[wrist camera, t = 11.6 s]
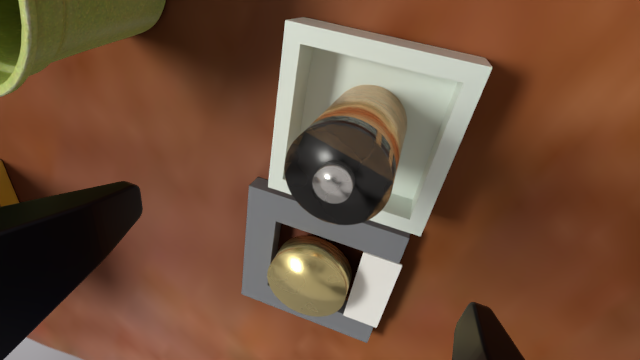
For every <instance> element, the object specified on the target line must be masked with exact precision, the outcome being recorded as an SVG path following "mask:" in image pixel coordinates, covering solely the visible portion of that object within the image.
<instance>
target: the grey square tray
mask: <svg viewBox="0 0 640 360" xmlns="http://www.w3.org/2000/svg"><path fill="white" fill-rule="evenodd" d="M281 223H282V224H285V225H288V226H291V227H294V228H297V229H300V230H303V231H306V232H309V233H311V234H314V235H317V236H320V237H323V238H326V239H329V240H332V241H335V242H338V243H341V244H344V245H347V246H349V247H352V248H355V249H358V250H361V251H364V252H363V255H362V258H361V261H360V264H359V267H358V270H357V273H356V277H355V280H354V283H353V286H352V289H351V292H350V295H349V298H348V301H346V300H345V301H344V304H343V306H342V307H341V308H340V309H339V310H338V311H337V312H335V313H333V314H331V315H328V316H322V317H315V316H308V315H304V314H301V313H299V312H296V311H294V310H292V309H290V308H289V307H287V306H286V305H285V304H283V303H282V302H281V301H280V300H279V299H278V298H277V297H276V296H275V294H274V293H273V292H272V290H271V288H270V286H269V283H268V279H267V272H268V268H269V266H270V264H271V262H272V261H273V259H274V258H275V256H276V255H277V251H278V244H279V237H280V229H281ZM409 238H410V233H408V232H405V231H401V230H398V229H395V228H392V227H389V226H386V225H383V224H380V223H377V222H374V221H371V220H367V221H365V222H362V223H359V224H354V225H337V224H332V223H328V222H325V221H322V220H320V219H318V218H316V217H314V216H312V215H311V214H309V213H308V212H307V211H306V210H304V209H303V208H302V207H301V206H300V205H299V204H298V203H297V201H296V200H295V199H294V197H293V196H292V195H291V194H288V193H284V192H281V191H278V190H275V189H272V188H269V187H268V180H266V179H263V178H259V177H257V178H256V179H255V180H254V181H253V182H252V183H251V184H250V185H249V194H248V209H247V223H246V237H245V251H244V265H243V280H242V294H243V295H245V296H248V297H251V298H253V299H256V300H258V301H261V302H263V303H266V304H269V305H271V306H274V307H276V308H279V309H281V310H284V311H286V312H289V313H292V314H294V315H297V316H299V317H302V318H304V319H307V320H310V321H312V322H315V323H317V324H320V325H322V326H325V327H327V328H330V329H333V330H335V331H338V332H340V333H343V334H345V335H348V336H351V337H353V338H356V339H358V340H361V341H363V342H366V343H367V342H368V339H369V337H370V334H371V332H372V329H373V327H375V328H377V326H378V323H379V321H380V319H381V316H382V314H383V311H384V309H385V307H386V304H387V302H388V299H389V297H390V294H391V292H392V290H393V287H394V285H395V282H396V280H397V278H398V275H399V273H400V270H401V268H402V264H399V263H400V260H401V258H402V255H403V253H404V250H405V248H406V245H407V243H408V241H409Z"/></svg>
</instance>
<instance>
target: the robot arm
mask: <svg viewBox="0 0 640 360" xmlns="http://www.w3.org/2000/svg"><path fill="white" fill-rule="evenodd" d="M142 210H143V208H142V200H141V193H140V188H139V187H138V186H137V185H135V184H132V183H129V182H126V181H121V182H116V183H111V184H107V185H102V186H97V187H92V188H87V189H83V190H78V191H73V192H68V193H64V194H59V195H54V196H49V197H45V198H40V199H35V200H30V201H26V202H21V203H16V204H11V205H6V206H2V207H0V360H3V359H4V358H5V357H6V356H7V355H8V354H9V353H11V352H12V350H13V349H15V348H16V347H17V345H19V344H20V343H21V342H22V341H23V340H24V339H25V338H26V337H27V336H28V335H29V334H30V333H31V332H32V331H33V330H34V329H35V328H36V327H37V326H38V325H39V324H40V323H41V322H42V321H43V320H44V319H45V318H46V317H47V316H48V315H49V314H50V313H51V312H52V311H53V310H54V309H55V308H56V307H57V306H58V305H59V304H60V303H61V302H62V301H63V300H64V299H65V298H66V297H67V296H68V295H69V294H70V293H71V292H72V291H73V290H74V289H75V288H76V287H77V286H78V285H79V284H80V283H81V282H82V281H83V280H84V279H85V278H86V277H87V276H88V275H89V274H90V273H91V272H92V271H93V270H94V269H95V268H96V267H97V266H98V265H99V264H100V263H101V262H102V261H103V260H104V259H105V258H106V257H107V256H108V255H109V253H110V252H111V251H112V250H113V249H114V248H115V246H116V245H117V244H118V243H119V242H120V240H121V239H122V238H123V237H124V236H125V234H126V233H127V232H128V231H129V230H130V228H131V227H132V226H133V225H134V224H135V222H136V221H137V220H138V219H139V218H140V216H141V214H142ZM452 360H525V359H524V357H523V356H522V354H521V353H520V351H519V350H518V348H517V347H516V345H515V344H514V342H513V341H512V339H511V338H510V337H509V335H508V334H507V332H506V331H505V329H504V328H503V326H502V325H501V323H500V322H499V320H498V319H497V317H496V316H495V314H494V313H493V311H492V310H491V309H490V308H489V307H487V306H484V305H481V304H478V303H475V302H471V303H470V304H469V305H468V306H467V308H466V309H465V311H464V313H463V314H462V316H461V317H460V319H459V321H458V322H457V325H456V328H455V333H454V344H453V355H452Z"/></svg>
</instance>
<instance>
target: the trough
mask: <svg viewBox="0 0 640 360" xmlns="http://www.w3.org/2000/svg"><path fill="white" fill-rule="evenodd" d="M492 68H493V67H492V66H491V65H490V63H489V62H488V61H487V59H486V58H484V57H479V56H475V55H471V54H466V53H462V52H457V51H453V50H448V49H444V48H439V47H435V46H431V45H426V44H422V43H417V42H413V41H408V40H404V39H400V38H395V37H391V36H386V35H382V34H377V33H373V32H368V31H364V30H360V29H355V28H351V27H346V26H342V25H337V24H333V23H328V22H324V21H320V20H315V19H311V18H306V17H301V18H295V19H288V20H285V27H284V37H283V47H282V56H281V66H280V75H279V85H278V94H277V104H276V113H275V123H274V132H273V142H272V151H271V161H270V170H269V180H268V187H269V188H272V189H275V190H278V191H281V192H284V193H288V194H291V192H290V190H289V188H288V186H287V183H286V179H285V172H284V165H285V159H286V155H287V152H288V150H289V148H290V146H291V144H292V143H293V142H294V140H295V139H296V138H297V137H298V136H299V135H300V134H302V133H303V132H304V131H305V130H306V129H307V128H308V127H309V126H310V125H311V124H312V123H313V122H314V121H315V120H316V119H317V118H318V117H319V116H320V115H321V114H322V113H323V112H324V111H325V110H326V109H327V108H328V107H329V106H331V105H332V104H333V103H334V102H335V101H336V100H337V99H338V98H339V97H340V96H341V95H342V94H343V93H344V92H346V91H347V90H349V89H351V88H353V87H356V86H359V85H376V86H380V87H383V88H385V89H387V90H389V91H390V92H392V93H393V94H394V95H395V96H396V97H397V98H398V99H399V100H400V102H401V103H402V105H403V107H404V109H405V112H406V116H407V130H406V134H405V138H404V143H403V147H402V151H401V155H400V159H399V163H398V168H397V172H396V176H395V180H394V184H393V188H392V192H391V196H390V198H389V201H388V202H387V204H386V206H385V207H384V208H383V209H382V210H381V212H379V213H378V214H377V215H376V216H374V217H373V218H371V219H369V220H371V221H374V222H377V223H380V224H383V225H386V226H389V227H392V228H395V229H398V230H401V231H405V232H408V233H411V234H414V235H417V236H420V237H421V234H422V232H423V230H424V227H425V225H426V223H427V220H428V218H429V216H430V213H431V211H432V209H433V206H434V204H435V202H436V199H437V197H438V195H439V192H440V190H441V188H442V185H443V183H444V180H445V178H446V176H447V173H448V171H449V169H450V166H451V164H452V162H453V159H454V157H455V155H456V152H457V150H458V148H459V145H460V143H461V141H462V138H463V136H464V134H465V131H466V129H467V127H468V124H469V122H470V119H471V117H472V115H473V112H474V110H475V108H476V105H477V103H478V101H479V98H480V96H481V94H482V91H483V89H484V87H485V84H486V82H487V80H488V77H489V75H490V73H491V70H492ZM291 195H292V194H291Z"/></svg>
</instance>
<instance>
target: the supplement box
mask: <svg viewBox="0 0 640 360" xmlns="http://www.w3.org/2000/svg"><path fill="white" fill-rule="evenodd" d="M16 203H19V201H18V198H17V196H16V194H15V191H14V189H13V186H12V184H11V182H10V179H9V177H8V174H7V172H6V169H5V167H4V164H3V162H2V160H0V207H2V206H6V205H11V204H16Z"/></svg>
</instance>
